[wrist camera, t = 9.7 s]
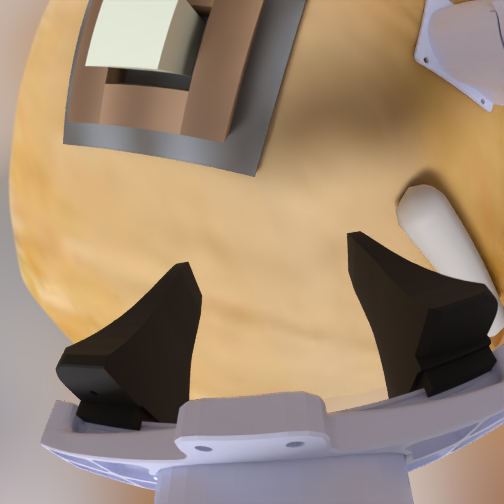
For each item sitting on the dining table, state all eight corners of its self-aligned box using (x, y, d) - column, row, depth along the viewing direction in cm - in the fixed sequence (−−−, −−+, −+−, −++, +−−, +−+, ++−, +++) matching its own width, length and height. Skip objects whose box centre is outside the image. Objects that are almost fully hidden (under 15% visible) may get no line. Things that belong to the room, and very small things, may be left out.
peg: (205, 24, 14) (180, -7, 8) (190, 75, 16) (157, 69, 10) (151, 19, 14) (105, -5, 8) (137, 69, 16) (85, 65, 10)
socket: (310, -18, 13) (321, -38, 9) (254, 173, 21) (254, 190, 17) (107, -32, 11) (84, -46, 7) (69, 141, 19) (41, 153, 16)
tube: (389, 236, 19) (478, 344, 27) (446, 197, 16) (510, 327, 23) (380, 195, 23) (471, 311, 31) (426, 161, 19) (501, 295, 27)
